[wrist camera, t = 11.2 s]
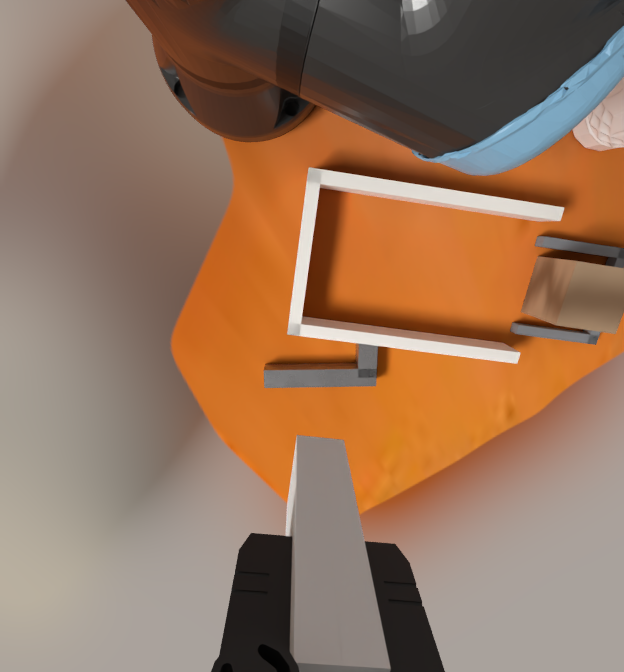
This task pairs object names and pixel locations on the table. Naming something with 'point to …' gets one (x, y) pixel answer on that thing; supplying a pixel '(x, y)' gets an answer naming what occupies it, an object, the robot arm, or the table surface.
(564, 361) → the table surface
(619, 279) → the walnut cube
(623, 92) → the white cup
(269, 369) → the crook tool
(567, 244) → the grey bracket
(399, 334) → the cubby
